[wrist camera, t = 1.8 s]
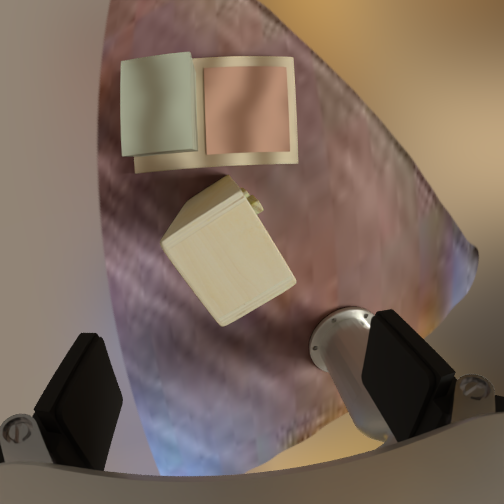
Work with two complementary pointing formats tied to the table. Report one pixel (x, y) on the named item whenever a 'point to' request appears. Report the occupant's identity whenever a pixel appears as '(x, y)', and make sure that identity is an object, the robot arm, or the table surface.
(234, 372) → the table surface
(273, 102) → the board
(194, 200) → the toy refrigerator
